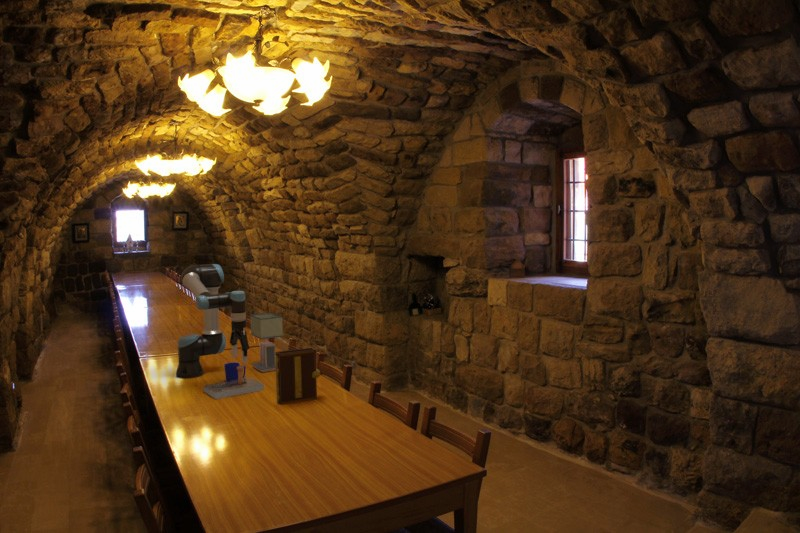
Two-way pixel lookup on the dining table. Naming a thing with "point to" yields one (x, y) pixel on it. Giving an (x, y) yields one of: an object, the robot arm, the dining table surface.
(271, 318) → the desk lamp
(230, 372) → the mug
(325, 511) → the dining table surface
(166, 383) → the dining table surface
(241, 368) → the headed peg
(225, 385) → the keyhole plate
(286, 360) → the book
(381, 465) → the dining table surface
